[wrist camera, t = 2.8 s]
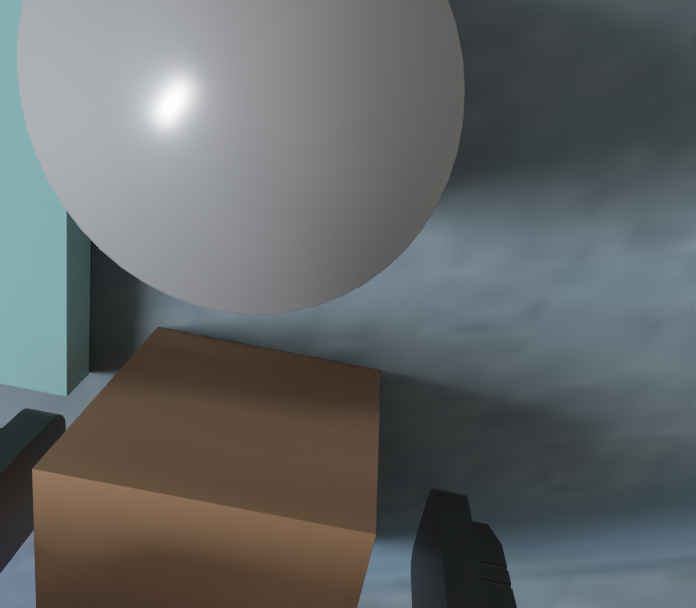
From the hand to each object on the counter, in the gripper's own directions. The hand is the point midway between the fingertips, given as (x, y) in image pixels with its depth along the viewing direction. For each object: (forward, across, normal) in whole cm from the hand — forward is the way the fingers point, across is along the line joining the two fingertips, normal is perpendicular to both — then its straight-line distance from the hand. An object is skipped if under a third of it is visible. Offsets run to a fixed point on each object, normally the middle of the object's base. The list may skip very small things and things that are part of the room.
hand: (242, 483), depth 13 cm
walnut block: (+1, 0, 0) cm, 1 cm away
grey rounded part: (+1, 0, -8) cm, 8 cm away
